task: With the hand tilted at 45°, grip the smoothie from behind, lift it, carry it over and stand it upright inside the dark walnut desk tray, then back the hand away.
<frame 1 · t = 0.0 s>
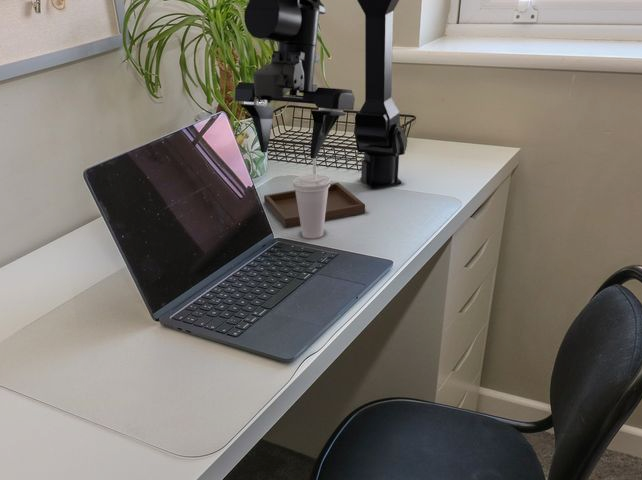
hand: (288, 155, 110), 15 cm above the table, tool pointing down, fingers open, 9 cm apart
tray: (313, 208, 132), on the table
smoothie: (312, 235, 122), on the table
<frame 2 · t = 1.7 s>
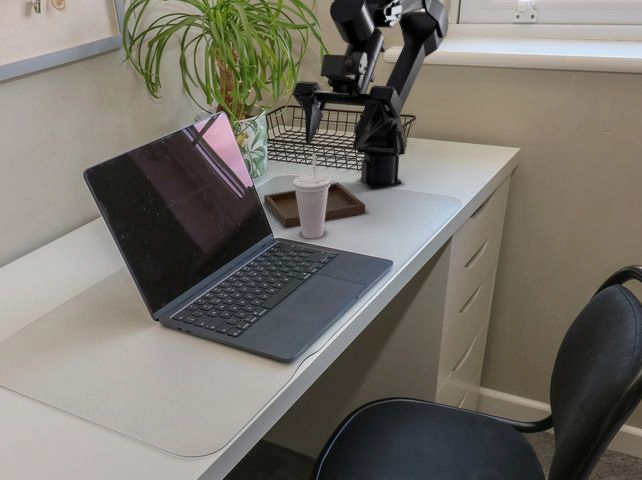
hand: (330, 145, 119), 13 cm above the table, tool tilted 45°, fingers open, 9 cm apart
nothing on the table moved.
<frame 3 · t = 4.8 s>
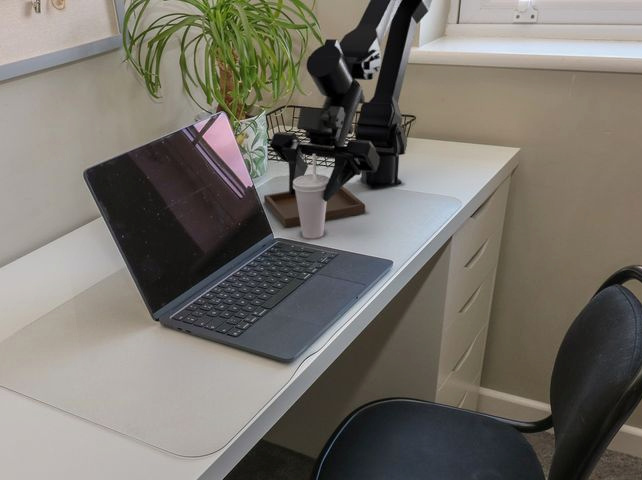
hand: (307, 197, 117), 7 cm above the table, tool tilted 45°, fingers closed on smoothie, 6 cm apart
smoothie: (312, 235, 122), on the table, touching gripper
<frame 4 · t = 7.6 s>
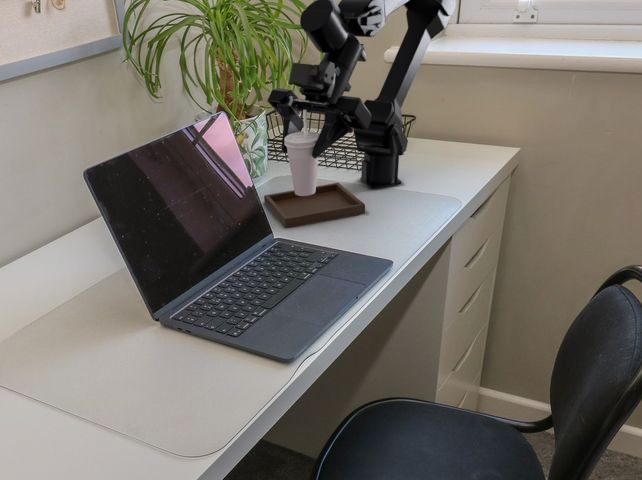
hand: (298, 154, 118), 13 cm above the table, tool tilted 45°, fingers closed on smoothie, 6 cm apart
smoothie: (305, 193, 123), point 6 cm above the table, touching gripper
when the fingers open (8 cm above the table, at t = 10.6 s): smoothie stays where it is, resting on tray.
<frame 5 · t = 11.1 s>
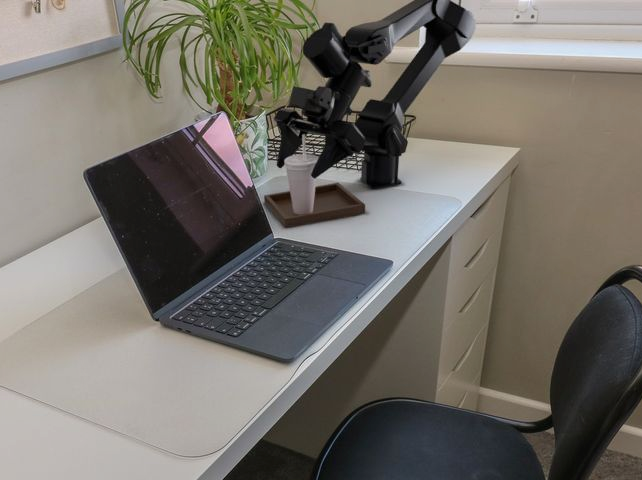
hand: (295, 172, 125), 8 cm above the table, tool tilted 45°, fingers open, 9 cm apart
smoothie: (303, 212, 130), resting on tray
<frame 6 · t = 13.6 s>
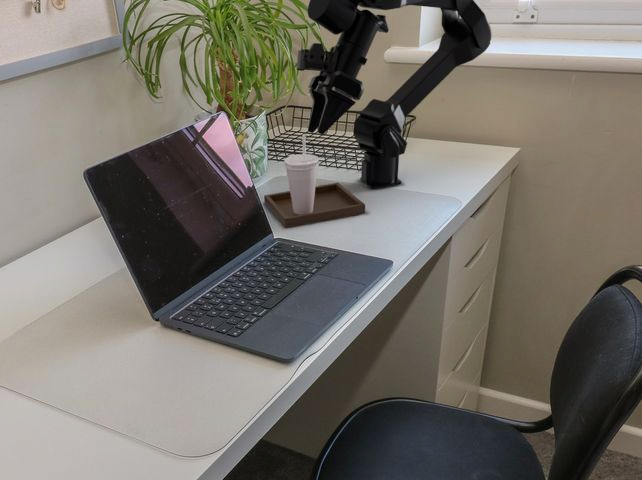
hand: (314, 132, 128), 13 cm above the table, tool tilted 30°, fingers open, 9 cm apart
nothing on the table moved.
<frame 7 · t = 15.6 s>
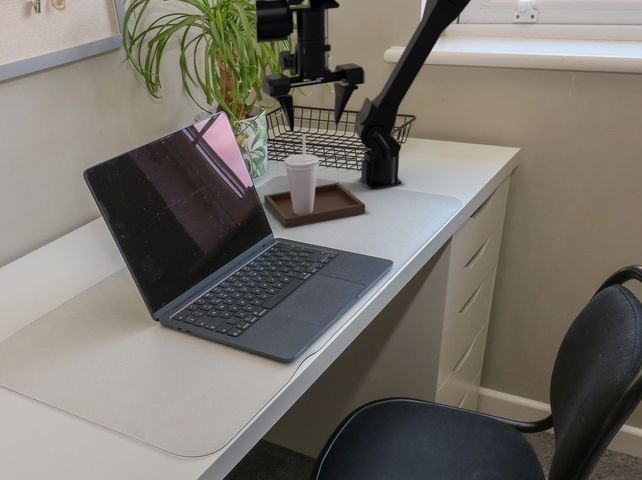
hand: (314, 127, 134), 12 cm above the table, tool pointing down, fingers open, 9 cm apart
nothing on the table moved.
at the end: smoothie 3.1 cm off-centre in the tray, point 0.3 cm above the tray's base; smoothie tilted 0°; the gripper is holding nothing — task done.
